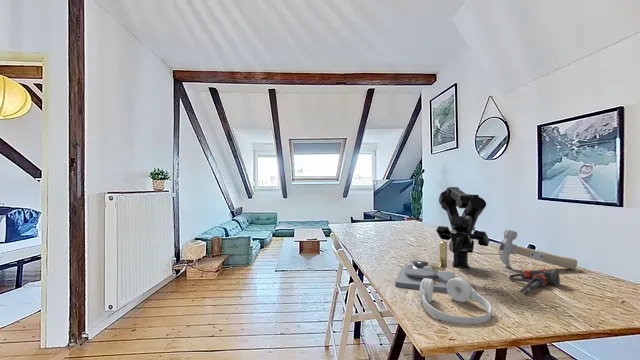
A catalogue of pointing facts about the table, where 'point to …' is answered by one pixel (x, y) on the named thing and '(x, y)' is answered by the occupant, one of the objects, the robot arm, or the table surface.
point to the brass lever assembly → (427, 265)
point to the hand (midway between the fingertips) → (454, 253)
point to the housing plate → (415, 283)
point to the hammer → (531, 253)
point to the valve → (537, 279)
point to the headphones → (458, 292)
